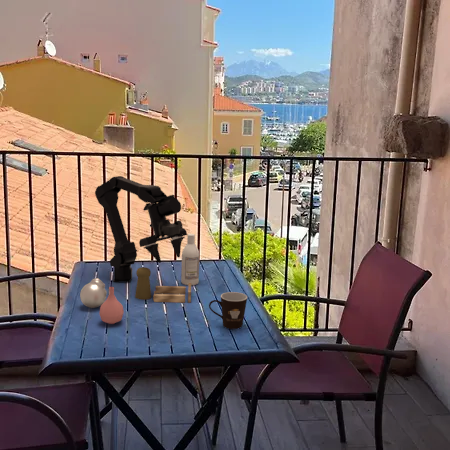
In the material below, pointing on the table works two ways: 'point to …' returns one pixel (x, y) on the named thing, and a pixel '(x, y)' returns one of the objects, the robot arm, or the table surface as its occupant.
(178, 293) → the cradle
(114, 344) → the table surface
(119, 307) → the pink bulb vase
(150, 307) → the table surface
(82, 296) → the silver christmas ornament
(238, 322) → the coffee mug
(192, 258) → the bath foam
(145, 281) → the cork
